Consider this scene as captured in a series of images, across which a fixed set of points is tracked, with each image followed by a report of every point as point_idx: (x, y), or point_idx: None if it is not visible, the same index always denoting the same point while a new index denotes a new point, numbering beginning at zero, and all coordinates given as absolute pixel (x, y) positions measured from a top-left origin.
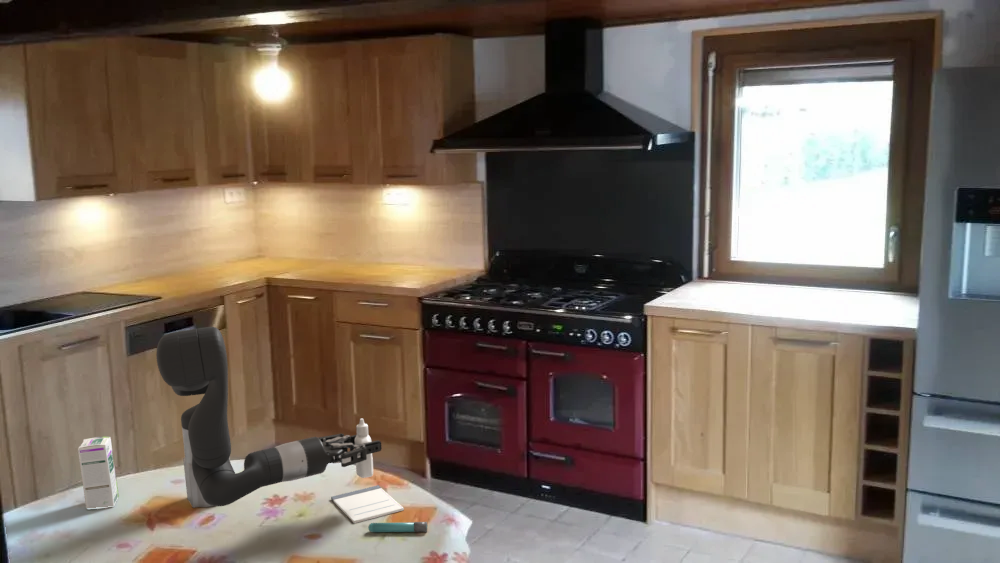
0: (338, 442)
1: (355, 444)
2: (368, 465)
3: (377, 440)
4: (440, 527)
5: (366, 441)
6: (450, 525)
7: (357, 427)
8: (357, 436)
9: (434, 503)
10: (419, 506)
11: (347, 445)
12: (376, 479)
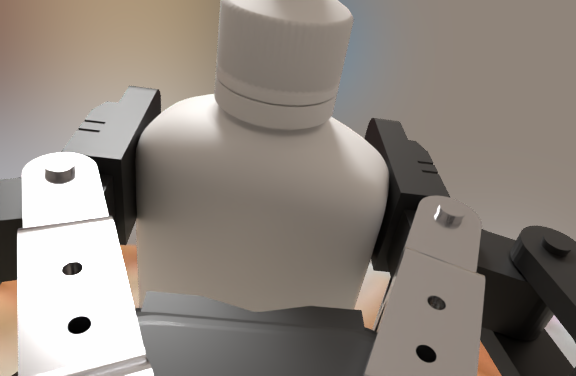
0: (152, 326)
1: (259, 226)
2: None
3: (375, 120)
4: (572, 356)
5: (382, 160)
6: (563, 326)
7: (302, 33)
8: (267, 140)
9: (373, 272)
10: (370, 313)
11: (479, 323)
12: (10, 285)
